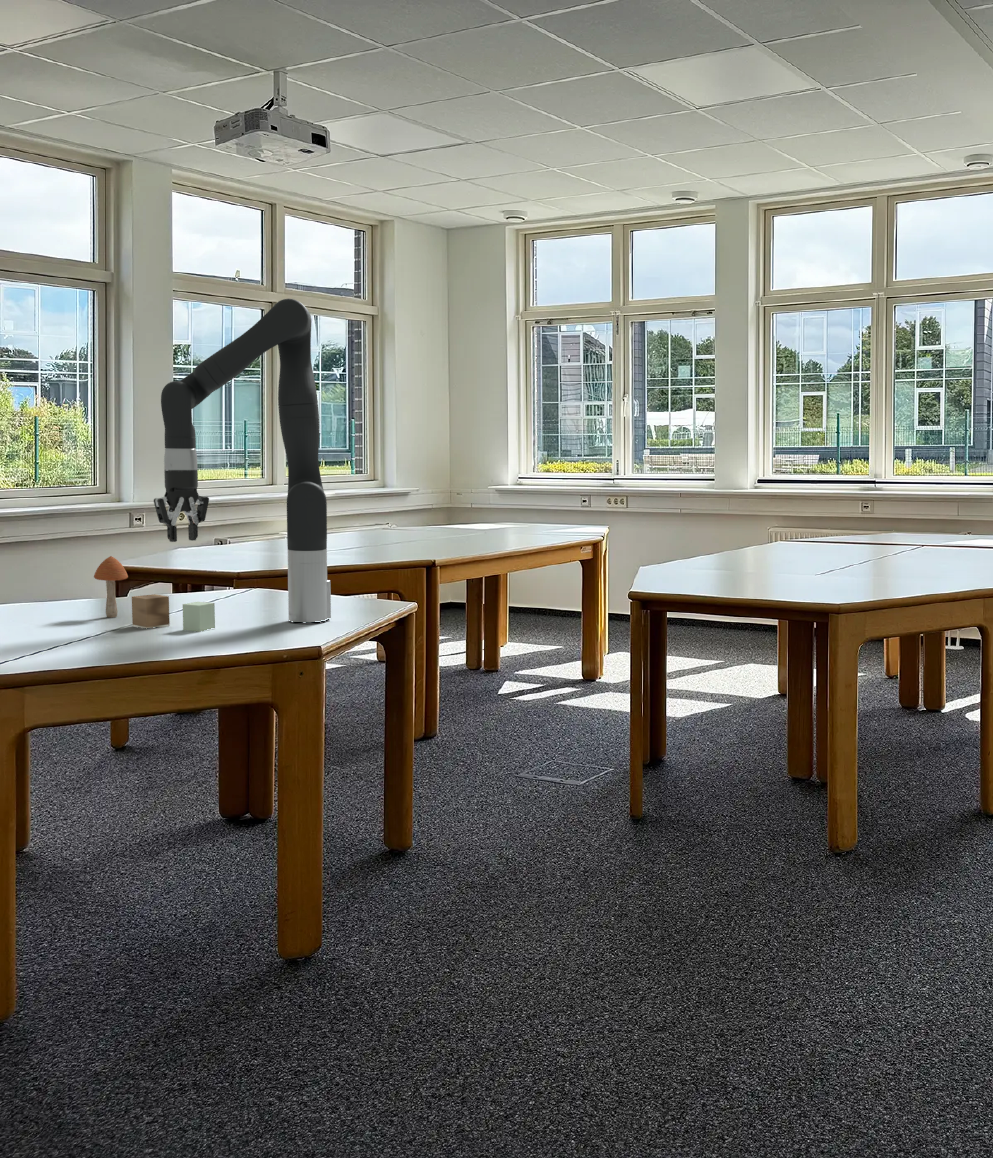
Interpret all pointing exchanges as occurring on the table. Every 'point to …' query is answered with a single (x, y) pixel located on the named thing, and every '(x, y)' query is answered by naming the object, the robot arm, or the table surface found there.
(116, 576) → the mushroom
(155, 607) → the walnut block
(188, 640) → the table surface
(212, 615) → the sage block
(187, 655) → the table surface
